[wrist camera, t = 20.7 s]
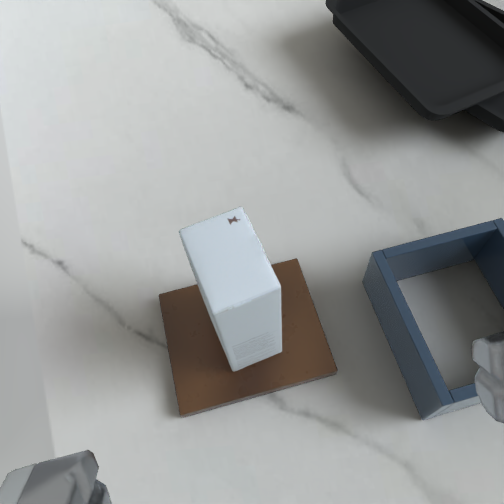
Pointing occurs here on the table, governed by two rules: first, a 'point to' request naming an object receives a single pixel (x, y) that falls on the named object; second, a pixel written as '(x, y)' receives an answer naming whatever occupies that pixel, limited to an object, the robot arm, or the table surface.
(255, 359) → the cosmetic box
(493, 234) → the holder
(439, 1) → the tray
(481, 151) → the table surface
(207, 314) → the coaster
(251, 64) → the table surface
